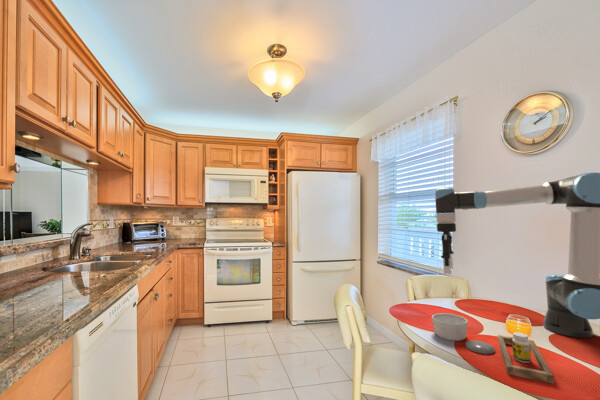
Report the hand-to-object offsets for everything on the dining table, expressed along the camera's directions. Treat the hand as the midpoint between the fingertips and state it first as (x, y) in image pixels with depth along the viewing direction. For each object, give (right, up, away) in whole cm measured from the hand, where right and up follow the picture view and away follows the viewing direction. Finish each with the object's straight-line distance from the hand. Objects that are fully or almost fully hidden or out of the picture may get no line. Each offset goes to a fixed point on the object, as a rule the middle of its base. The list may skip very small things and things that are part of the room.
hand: (448, 270), depth 125 cm
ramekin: (-4, -25, -8) cm, 26 cm away
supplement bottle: (+10, -23, -29) cm, 38 cm away
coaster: (+1, -24, -20) cm, 31 cm away
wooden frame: (+10, -23, -29) cm, 38 cm away
